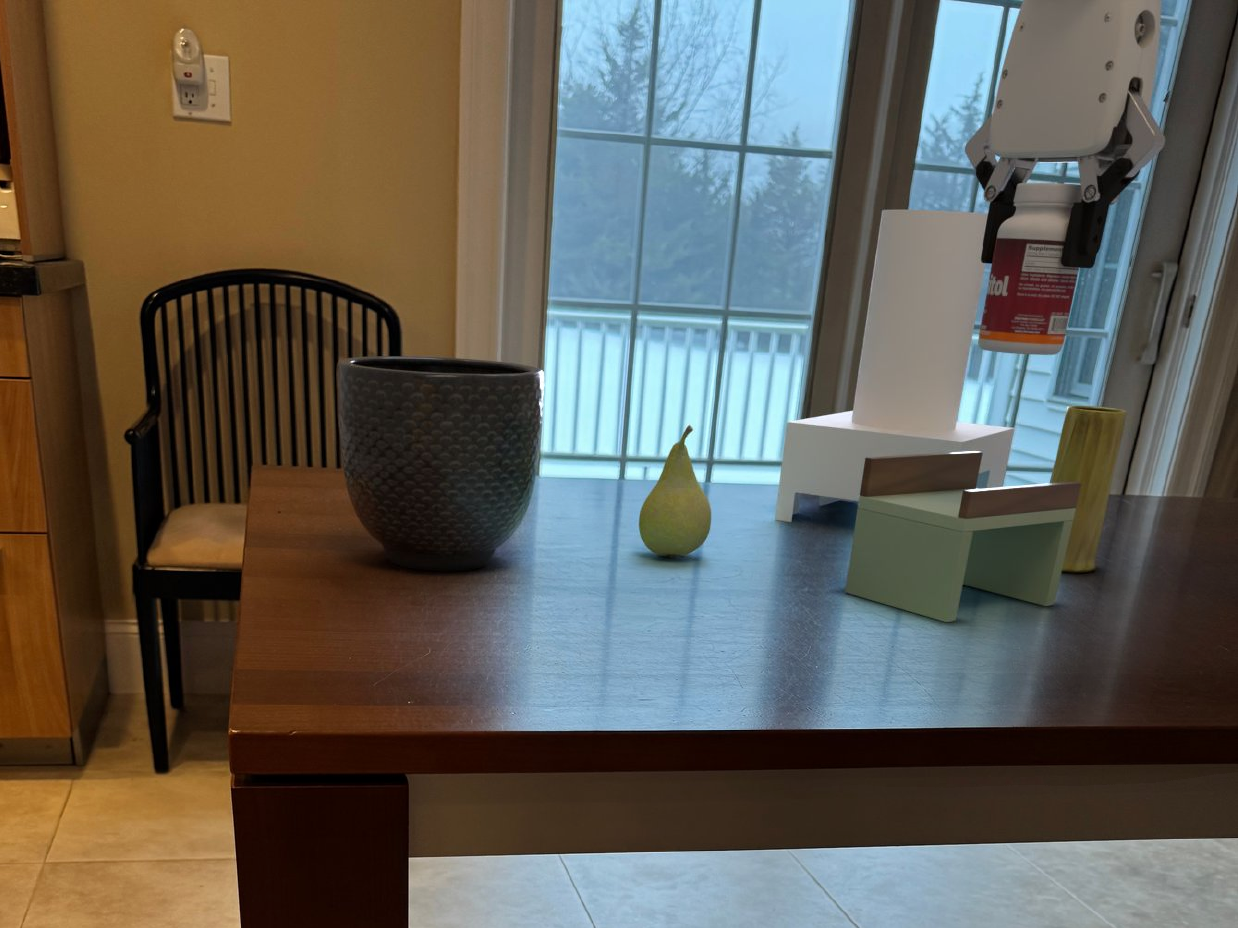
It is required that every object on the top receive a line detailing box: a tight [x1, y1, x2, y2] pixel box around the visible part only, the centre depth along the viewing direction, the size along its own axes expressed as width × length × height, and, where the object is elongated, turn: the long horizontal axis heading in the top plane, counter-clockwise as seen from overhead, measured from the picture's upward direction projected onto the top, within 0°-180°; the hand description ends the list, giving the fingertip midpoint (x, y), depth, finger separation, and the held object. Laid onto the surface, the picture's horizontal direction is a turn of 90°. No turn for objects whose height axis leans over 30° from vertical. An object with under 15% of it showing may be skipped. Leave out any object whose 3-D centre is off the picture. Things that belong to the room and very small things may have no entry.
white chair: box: [774, 209, 1015, 523], centre depth 136 cm, size 19×19×30 cm
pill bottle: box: [977, 182, 1082, 356], centre depth 95 cm, size 6×6×11 cm
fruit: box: [638, 424, 712, 559], centre depth 117 cm, size 7×8×12 cm
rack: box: [844, 451, 1082, 623], centre depth 108 cm, size 11×14×11 cm
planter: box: [336, 355, 545, 572], centre depth 110 cm, size 17×17×16 cm
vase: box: [1049, 405, 1128, 574], centre depth 122 cm, size 6×6×14 cm
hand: (1036, 263), depth 95 cm, fingers closed on pill bottle, 6 cm apart
